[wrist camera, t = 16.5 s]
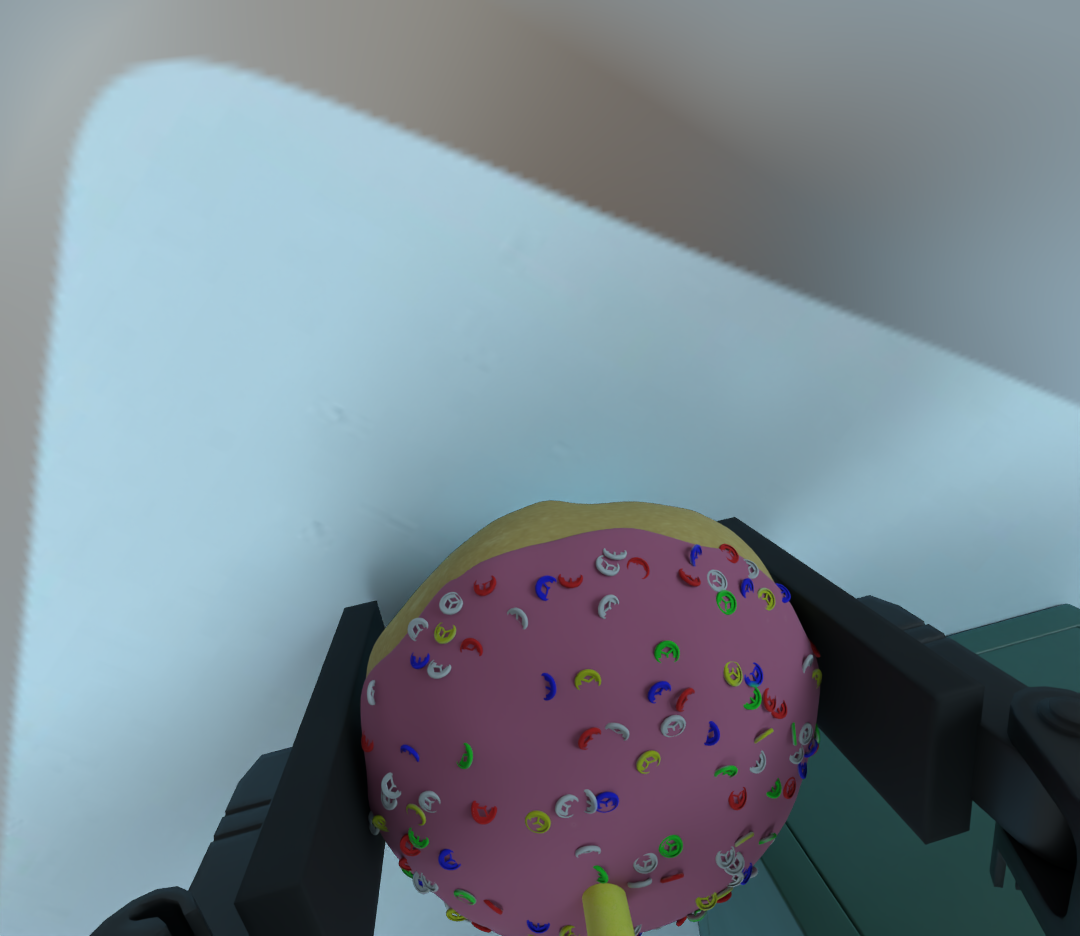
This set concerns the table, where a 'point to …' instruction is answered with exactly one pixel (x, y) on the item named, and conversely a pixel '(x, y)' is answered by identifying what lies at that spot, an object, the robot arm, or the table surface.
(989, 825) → the cool box
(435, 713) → the cupcake
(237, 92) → the table surface
